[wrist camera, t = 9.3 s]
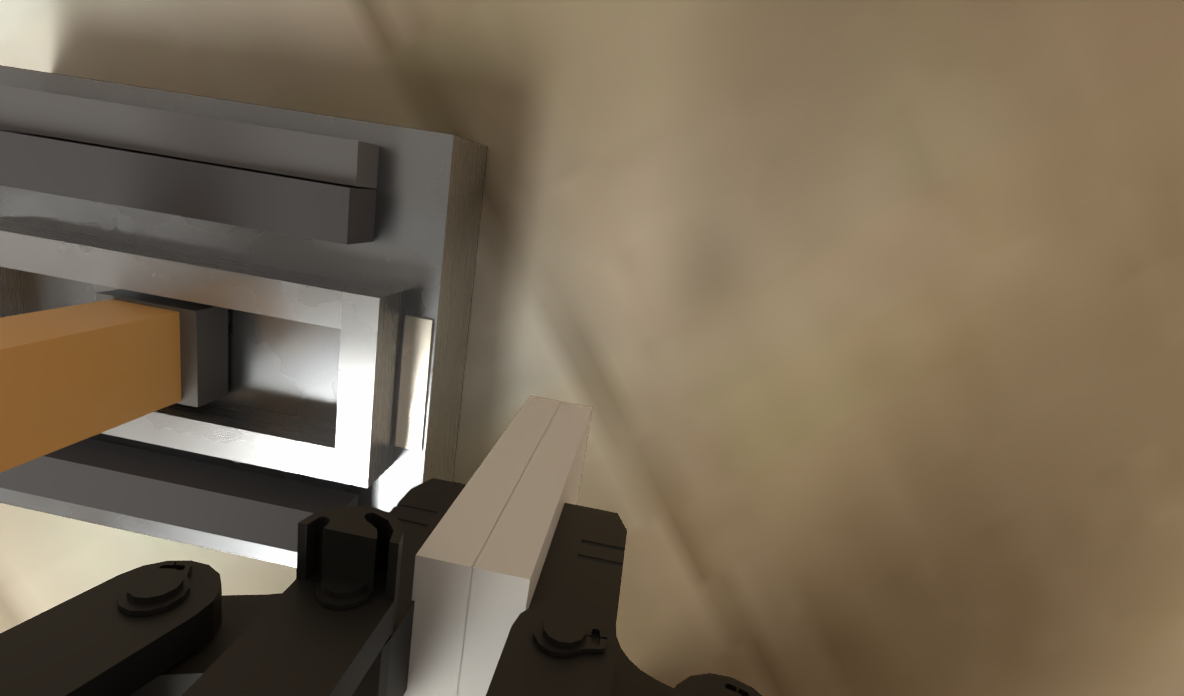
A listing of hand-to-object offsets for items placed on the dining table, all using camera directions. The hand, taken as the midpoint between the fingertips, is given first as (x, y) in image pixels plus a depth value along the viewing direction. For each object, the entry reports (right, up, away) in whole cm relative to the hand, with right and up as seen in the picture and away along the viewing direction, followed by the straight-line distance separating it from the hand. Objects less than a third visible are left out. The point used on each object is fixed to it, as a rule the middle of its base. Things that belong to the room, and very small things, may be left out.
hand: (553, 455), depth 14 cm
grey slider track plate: (-11, +3, +4) cm, 12 cm away
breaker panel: (-11, +3, +7) cm, 13 cm away
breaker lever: (-11, +3, +4) cm, 12 cm away
